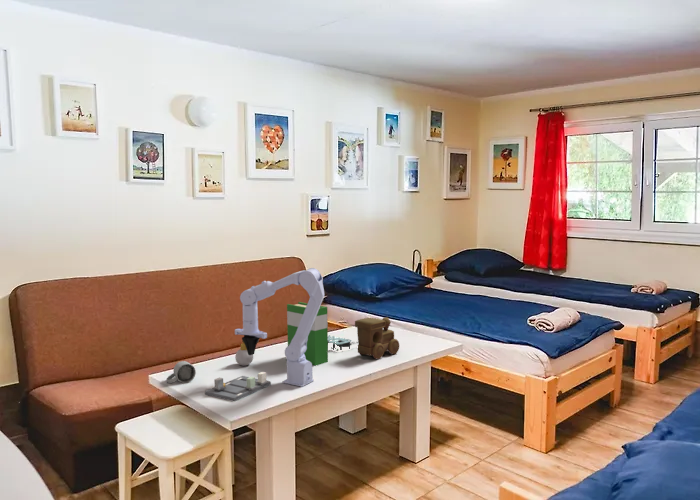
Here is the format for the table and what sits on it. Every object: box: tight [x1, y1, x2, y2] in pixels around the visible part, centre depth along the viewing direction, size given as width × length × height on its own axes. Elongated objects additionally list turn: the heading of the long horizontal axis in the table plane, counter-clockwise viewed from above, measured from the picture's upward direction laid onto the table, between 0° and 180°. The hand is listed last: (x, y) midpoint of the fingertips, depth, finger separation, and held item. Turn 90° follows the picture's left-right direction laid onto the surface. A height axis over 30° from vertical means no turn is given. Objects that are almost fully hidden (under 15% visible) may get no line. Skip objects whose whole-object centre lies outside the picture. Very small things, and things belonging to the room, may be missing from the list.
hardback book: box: [286, 301, 329, 367], centre depth 241 cm, size 18×7×24 cm, turn 47°
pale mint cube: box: [244, 376, 258, 390], centre depth 201 cm, size 4×3×4 cm
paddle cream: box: [256, 371, 269, 385], centre depth 207 cm, size 4×3×4 cm
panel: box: [204, 375, 272, 402], centre depth 205 cm, size 14×20×2 cm
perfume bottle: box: [235, 339, 260, 367], centre depth 236 cm, size 8×10×12 cm
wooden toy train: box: [354, 317, 400, 360], centre depth 248 cm, size 20×11×17 cm, turn 135°
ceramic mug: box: [166, 360, 197, 384], centre depth 215 cm, size 10×8×7 cm
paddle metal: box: [211, 377, 226, 391], centre depth 201 cm, size 4×3×4 cm
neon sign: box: [328, 335, 354, 353], centre depth 269 cm, size 21×4×29 cm
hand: (251, 354), depth 215 cm, fingers closed
